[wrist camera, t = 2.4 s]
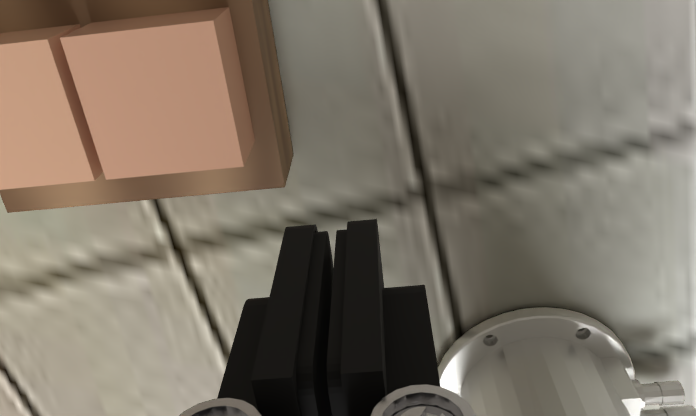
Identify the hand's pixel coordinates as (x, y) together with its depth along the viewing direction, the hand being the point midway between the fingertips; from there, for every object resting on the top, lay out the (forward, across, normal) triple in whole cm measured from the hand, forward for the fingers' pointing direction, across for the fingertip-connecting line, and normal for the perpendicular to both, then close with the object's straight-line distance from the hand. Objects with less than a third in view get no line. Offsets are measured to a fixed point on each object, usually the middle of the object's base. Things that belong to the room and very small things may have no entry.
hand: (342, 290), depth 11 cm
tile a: (+17, +8, 0) cm, 19 cm away
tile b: (+17, +14, 0) cm, 22 cm away
